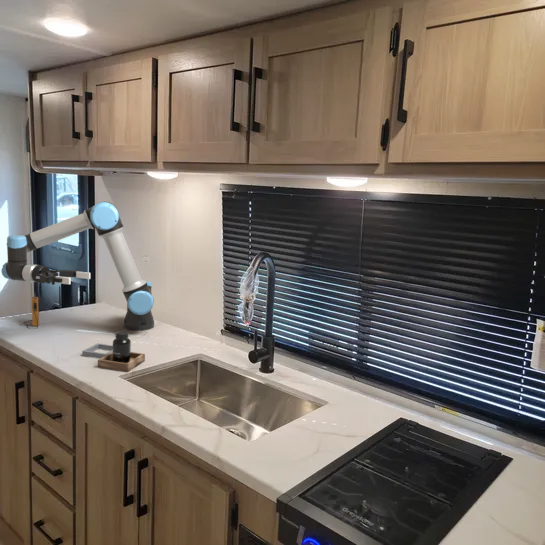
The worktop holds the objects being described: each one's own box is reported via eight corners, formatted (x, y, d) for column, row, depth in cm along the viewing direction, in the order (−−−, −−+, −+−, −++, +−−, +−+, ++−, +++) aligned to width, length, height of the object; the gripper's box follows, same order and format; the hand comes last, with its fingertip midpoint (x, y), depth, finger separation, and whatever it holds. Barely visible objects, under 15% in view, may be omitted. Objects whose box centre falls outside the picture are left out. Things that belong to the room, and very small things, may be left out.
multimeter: (16, 321, 243) (15, 282, 240) (38, 320, 247) (38, 281, 244) (15, 330, 230) (13, 288, 226) (38, 328, 234) (37, 287, 231)
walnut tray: (116, 356, 202) (116, 349, 202) (144, 361, 199) (144, 353, 199) (97, 367, 190) (97, 359, 189) (128, 372, 187) (128, 364, 186)
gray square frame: (97, 347, 212) (97, 343, 211) (120, 351, 209) (120, 346, 209) (82, 355, 201) (82, 351, 201) (106, 359, 199) (106, 354, 198)
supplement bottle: (112, 365, 190) (112, 335, 188) (112, 359, 196) (112, 330, 194) (130, 364, 192) (130, 334, 190) (130, 358, 198) (130, 329, 196)
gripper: (56, 277, 224) (97, 282, 220) (15, 287, 200) (61, 292, 196) (55, 261, 223) (97, 265, 218) (15, 269, 199) (60, 274, 194)
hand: (80, 278), depth 207 cm, fingers open, 13 cm apart
